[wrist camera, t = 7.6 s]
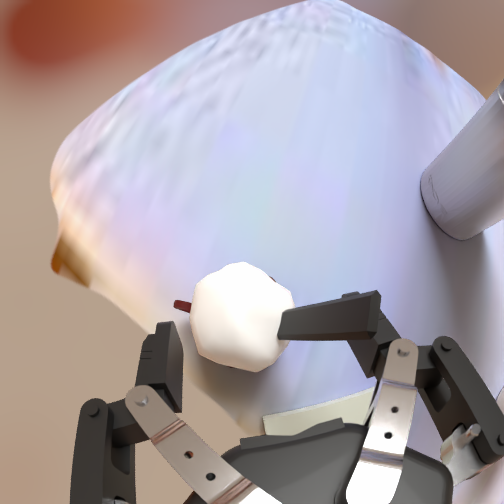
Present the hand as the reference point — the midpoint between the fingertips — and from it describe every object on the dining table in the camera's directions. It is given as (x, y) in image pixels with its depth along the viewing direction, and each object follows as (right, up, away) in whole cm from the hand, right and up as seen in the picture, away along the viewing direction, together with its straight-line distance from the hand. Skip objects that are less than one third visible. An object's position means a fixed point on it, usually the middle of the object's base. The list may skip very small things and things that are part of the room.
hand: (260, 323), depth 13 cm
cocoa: (-1, -2, +7) cm, 8 cm away
